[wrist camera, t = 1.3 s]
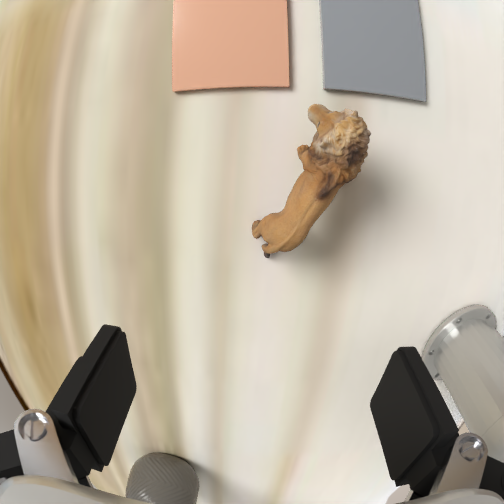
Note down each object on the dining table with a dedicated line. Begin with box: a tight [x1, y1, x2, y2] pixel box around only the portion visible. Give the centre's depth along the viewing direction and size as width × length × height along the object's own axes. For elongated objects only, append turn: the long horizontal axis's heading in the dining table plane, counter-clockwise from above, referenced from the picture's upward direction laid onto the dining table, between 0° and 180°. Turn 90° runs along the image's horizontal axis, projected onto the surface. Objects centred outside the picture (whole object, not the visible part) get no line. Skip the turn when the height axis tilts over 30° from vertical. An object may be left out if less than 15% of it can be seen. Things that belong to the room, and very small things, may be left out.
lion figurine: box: [252, 104, 371, 258], centre depth 23 cm, size 15×5×9 cm, turn 159°
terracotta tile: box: [172, 0, 289, 92], centre depth 21 cm, size 10×16×1 cm, turn 1°
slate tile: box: [319, 0, 426, 102], centre depth 21 cm, size 10×16×1 cm, turn 1°
